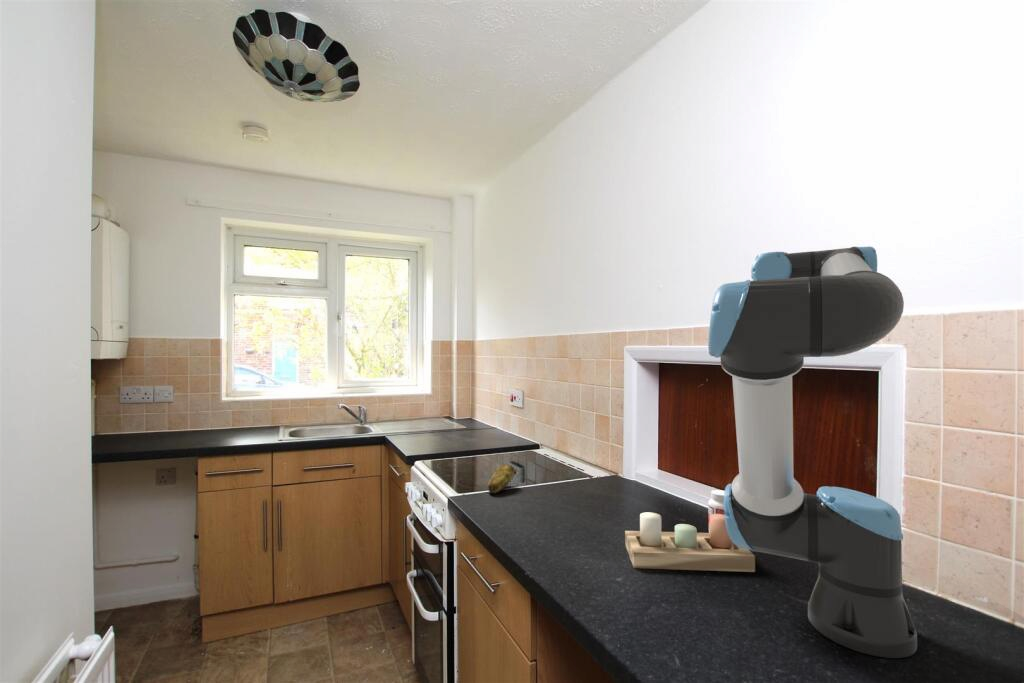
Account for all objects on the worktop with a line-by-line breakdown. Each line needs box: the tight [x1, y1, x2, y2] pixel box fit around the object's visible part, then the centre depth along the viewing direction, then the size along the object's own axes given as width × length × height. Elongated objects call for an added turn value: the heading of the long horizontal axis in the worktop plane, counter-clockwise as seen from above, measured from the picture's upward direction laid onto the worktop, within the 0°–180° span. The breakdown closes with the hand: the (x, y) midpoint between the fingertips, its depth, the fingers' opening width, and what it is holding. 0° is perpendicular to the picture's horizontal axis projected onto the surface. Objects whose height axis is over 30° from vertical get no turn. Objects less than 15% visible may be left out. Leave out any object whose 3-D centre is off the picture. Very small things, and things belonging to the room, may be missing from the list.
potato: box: [487, 464, 515, 494], centre depth 160 cm, size 8×13×8 cm, turn 134°
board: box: [624, 530, 756, 573], centre depth 108 cm, size 12×26×4 cm, turn 85°
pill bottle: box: [707, 489, 725, 533], centre depth 121 cm, size 6×6×11 cm
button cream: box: [639, 511, 662, 546], centre depth 109 cm, size 5×5×6 cm
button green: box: [674, 523, 698, 548], centre depth 108 cm, size 5×5×6 cm
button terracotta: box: [710, 514, 733, 548], centre depth 107 cm, size 5×5×6 cm
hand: (774, 416), depth 111 cm, fingers closed
